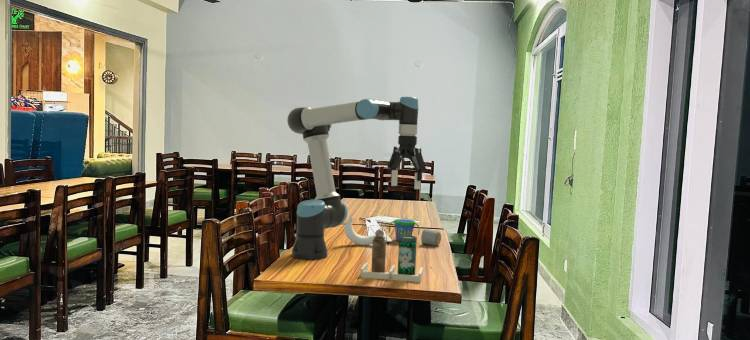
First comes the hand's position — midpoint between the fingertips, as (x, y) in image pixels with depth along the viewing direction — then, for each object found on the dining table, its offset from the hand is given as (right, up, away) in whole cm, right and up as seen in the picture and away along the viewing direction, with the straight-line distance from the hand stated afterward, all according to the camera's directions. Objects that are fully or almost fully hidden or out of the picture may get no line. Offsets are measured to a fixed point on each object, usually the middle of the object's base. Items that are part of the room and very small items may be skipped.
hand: (405, 187), depth 225 cm
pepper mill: (-11, -32, -21) cm, 40 cm away
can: (-1, -32, -23) cm, 40 cm away
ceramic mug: (+15, -30, +46) cm, 57 cm away
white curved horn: (-18, -29, +37) cm, 50 cm away
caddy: (-6, -33, -22) cm, 40 cm away
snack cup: (+2, -29, +53) cm, 60 cm away
